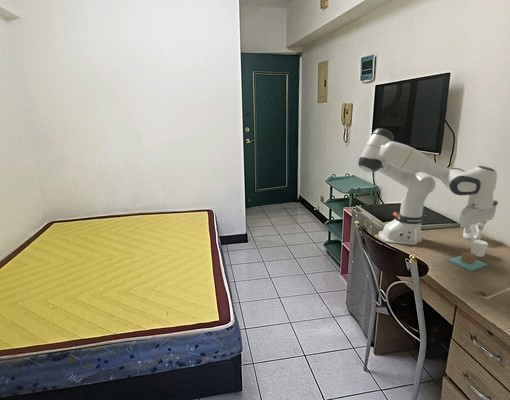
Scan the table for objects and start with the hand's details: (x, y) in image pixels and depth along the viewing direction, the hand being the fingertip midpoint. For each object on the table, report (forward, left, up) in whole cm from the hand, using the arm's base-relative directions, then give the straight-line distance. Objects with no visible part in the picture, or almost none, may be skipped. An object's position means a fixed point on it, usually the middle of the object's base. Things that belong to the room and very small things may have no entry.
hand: (473, 231), depth 148 cm
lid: (0, 0, -16) cm, 16 cm away
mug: (+18, +29, -17) cm, 38 cm away
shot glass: (+10, +10, -17) cm, 22 cm away
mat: (0, 0, -17) cm, 17 cm away
